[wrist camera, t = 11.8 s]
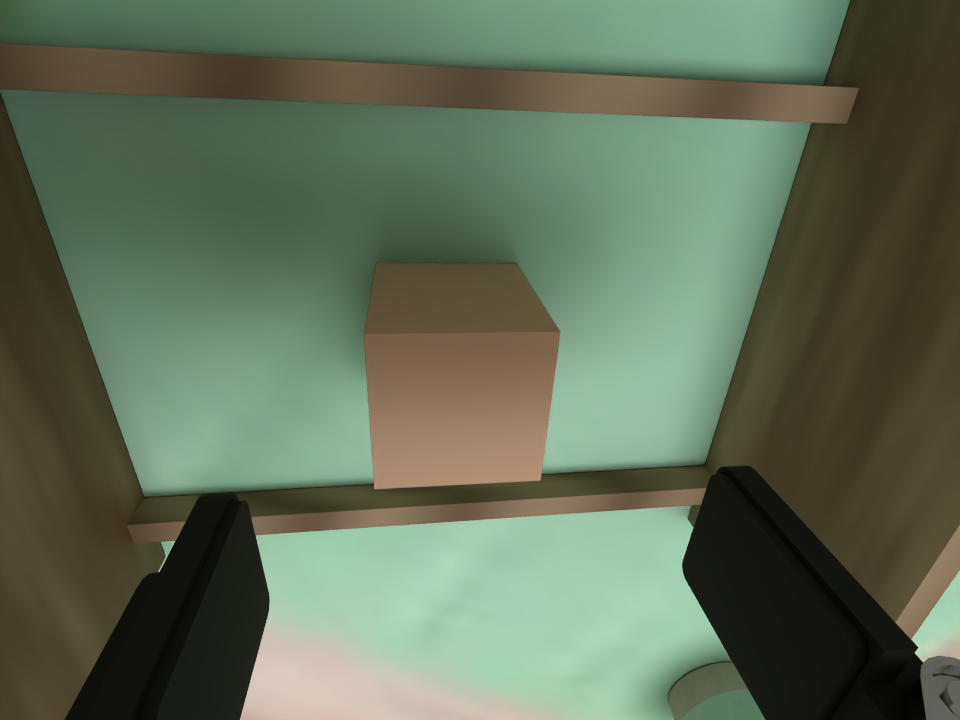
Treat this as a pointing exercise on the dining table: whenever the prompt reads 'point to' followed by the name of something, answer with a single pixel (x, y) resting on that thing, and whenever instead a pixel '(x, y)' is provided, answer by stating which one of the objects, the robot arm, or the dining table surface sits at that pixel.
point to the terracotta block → (457, 374)
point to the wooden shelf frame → (737, 442)
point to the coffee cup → (713, 695)
